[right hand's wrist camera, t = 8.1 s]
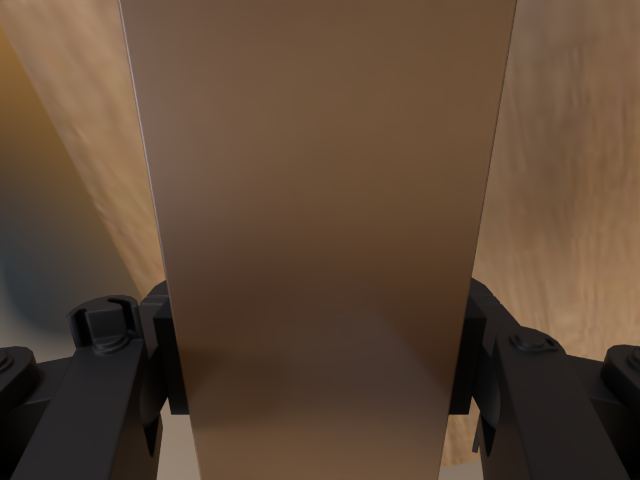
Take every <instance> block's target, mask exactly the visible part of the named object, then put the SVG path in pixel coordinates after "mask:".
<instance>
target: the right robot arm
mask: <svg viewBox="0 0 640 480" xmlns="http://www.w3.org/2000/svg"><path fill="white" fill-rule="evenodd" d="M67 319H68V323H69V326H70V329H71V333H72V336H73V340H74V343H75V347H76V351H75V353H74V355H73V356H72V357H68V358H63V359H58V360H52V361H47V362H42V363H36V360H35V357H34V354H33V352H32V351H31V350H30V349H28V348H27V347H18V346H14V347H6V348H0V480H156V479H157V471H158V463H159V455H160V447H161V439H162V431H163V425H162V419H161V414H160V411H161V409H162V407H163V405H164V403H165V401H166V399H167V397H168V400H169V405H170V410H171V414H172V415H189V409H188V403H187V398H186V392H185V386H184V380H183V375H182V369H181V363H180V357H179V351H178V346H177V340H176V334H175V328H174V323H173V317H172V311H171V305H170V299H169V294H168V288H167V282H166V280H165V281H163V282H162V283H160V284H158V285H156V286H155V287H154V288H153V289H152V290H151V292H150V293H149V294H148V295H147V298H144V300H143V301H142V302H141V303H140V306H138V304H137V300H135V299H134V298H133V297H130V296H125V295H111V296H105V297H101V298H96V299H93V300H91V301H88V302H85V303H83V304H81V305H80V306H78V307H76V308H74V309H73V310H72V311H71V312H70V313H69V314H68V315H67ZM472 396H473V398H474V400H475V402H476V404H477V406H478V408H479V410H480V414H479V419H478V424H477V428H476V433H475V438H474V443H473V449H472V452H475V453H477V452H478V447H479V446H480V454H481V462H482V470H483V478H484V480H640V346H632V345H614V346H612V347H611V348H609V349H608V350H607V353H606V356H605V359H604V362H601V361H596V360H591V359H586V358H581V357H576V356H571V355H567V354H566V352H565V350H564V349H563V347H562V346H561V345H560V344H559V343H558V341H556V340H555V339H553V338H552V337H550V336H549V335H547V334H545V333H543V332H540V331H538V330H536V329H532V328H527V327H523V326H520V324H519V323H518V322H517V321H516V320H515V319H514V318H513V316H512V315H511V314H510V313H509V312H508V311H507V310H506V308H505V307H504V306H503V305H502V304H500V302H499V301H498V299H497V298H496V297H495V296H493V294H492V293H491V291H490V290H489V289H488V288H487V287H486V286H485V285H484V284H482V283H480V282H479V281H477V280H475V279H474V278H472V277H471V283H470V289H469V295H468V301H467V307H466V313H465V319H464V325H463V331H462V337H461V343H460V349H459V355H458V361H457V367H456V373H455V380H454V386H453V392H452V398H451V404H450V410H449V415H468V414H469V409H470V404H471V399H472Z"/></svg>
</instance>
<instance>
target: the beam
mask: <svg viewBox="0 0 640 480" xmlns="http://www.w3.org/2000/svg"><path fill="white" fill-rule="evenodd" d="M118 5H119V11H120V17H121V22H122V28H123V34H124V40H125V45H126V51H127V57H128V63H129V68H130V74H131V80H132V86H133V92H134V97H135V103H136V109H137V115H138V120H139V126H140V132H141V138H142V144H143V149H144V155H145V161H146V167H147V172H148V178H149V184H150V190H151V196H152V201H153V207H154V213H155V219H156V224H157V230H158V236H159V242H160V247H161V253H162V259H163V265H164V271H165V276H166V282H167V288H168V294H169V299H170V305H171V311H172V317H173V323H174V328H175V334H176V340H177V346H178V351H179V357H180V363H181V369H182V375H183V380H184V386H185V392H186V398H187V403H188V409H189V415H190V421H191V427H192V432H193V438H194V444H195V450H196V455H197V461H198V467H199V473H200V478H201V480H438V476H439V470H440V464H441V458H442V452H443V446H444V440H445V434H446V428H447V422H448V416H449V410H450V404H451V398H452V392H453V386H454V380H455V373H456V367H457V361H458V355H459V349H460V343H461V337H462V331H463V325H464V319H465V313H466V307H467V301H468V295H469V289H470V283H471V277H472V271H473V265H474V259H475V253H476V246H477V240H478V234H479V228H480V222H481V216H482V210H483V204H484V198H485V192H486V186H487V180H488V174H489V168H490V162H491V156H492V150H493V144H494V138H495V132H496V126H497V119H498V113H499V107H500V101H501V95H502V89H503V83H504V77H505V71H506V65H507V59H508V53H509V47H510V41H511V35H512V29H513V23H514V17H515V11H516V5H517V0H118Z"/></svg>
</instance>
